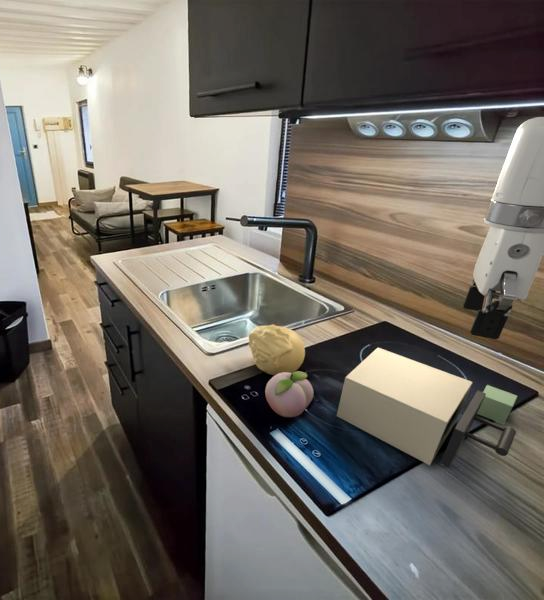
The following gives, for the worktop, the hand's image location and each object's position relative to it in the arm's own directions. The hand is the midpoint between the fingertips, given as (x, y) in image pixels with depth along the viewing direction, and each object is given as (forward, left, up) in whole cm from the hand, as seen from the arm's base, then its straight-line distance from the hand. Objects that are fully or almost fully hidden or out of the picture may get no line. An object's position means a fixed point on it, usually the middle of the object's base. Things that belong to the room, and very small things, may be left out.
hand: (478, 322), depth 58 cm
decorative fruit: (+21, +17, -23) cm, 35 cm away
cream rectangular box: (+6, +3, -23) cm, 24 cm away
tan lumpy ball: (+31, +5, -23) cm, 39 cm away
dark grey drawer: (+1, +3, -22) cm, 22 cm away
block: (-6, -12, -23) cm, 27 cm away
